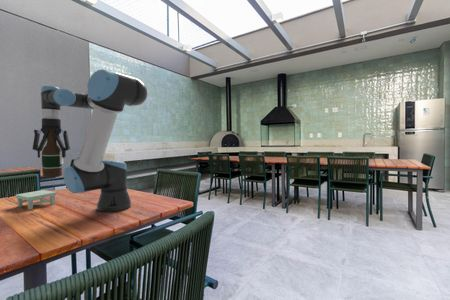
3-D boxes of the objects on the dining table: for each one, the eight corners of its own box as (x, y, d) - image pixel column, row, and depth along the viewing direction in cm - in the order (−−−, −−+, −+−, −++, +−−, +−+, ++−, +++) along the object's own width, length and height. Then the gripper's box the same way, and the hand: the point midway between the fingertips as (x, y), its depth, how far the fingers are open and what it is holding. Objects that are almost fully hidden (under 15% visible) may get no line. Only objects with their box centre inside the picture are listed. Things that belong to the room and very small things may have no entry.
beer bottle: (41, 178, 111) (40, 128, 109) (43, 175, 117) (42, 128, 116) (61, 177, 115) (60, 128, 113) (62, 174, 121) (61, 128, 120)
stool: (56, 203, 119) (56, 192, 119) (28, 210, 108) (28, 197, 108) (43, 200, 124) (43, 189, 124) (15, 206, 114) (15, 194, 113)
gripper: (77, 119, 121) (77, 163, 122) (29, 117, 114) (30, 163, 116) (72, 119, 114) (73, 164, 115) (22, 116, 107) (23, 165, 109)
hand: (52, 164), depth 116 cm, fingers closed on beer bottle, 7 cm apart
